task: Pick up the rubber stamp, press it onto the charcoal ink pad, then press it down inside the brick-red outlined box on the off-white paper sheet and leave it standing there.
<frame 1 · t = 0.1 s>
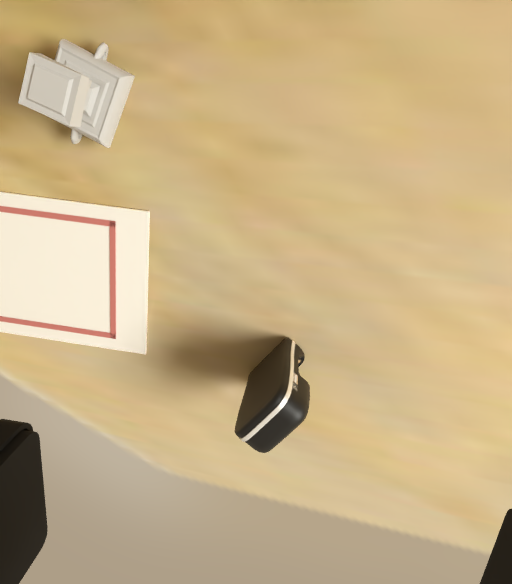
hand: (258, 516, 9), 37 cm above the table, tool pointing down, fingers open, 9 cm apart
stamp: (101, 97, 42), on the table
battery charger: (280, 364, 50), on the table
paper sheet: (48, 272, 49), on the table
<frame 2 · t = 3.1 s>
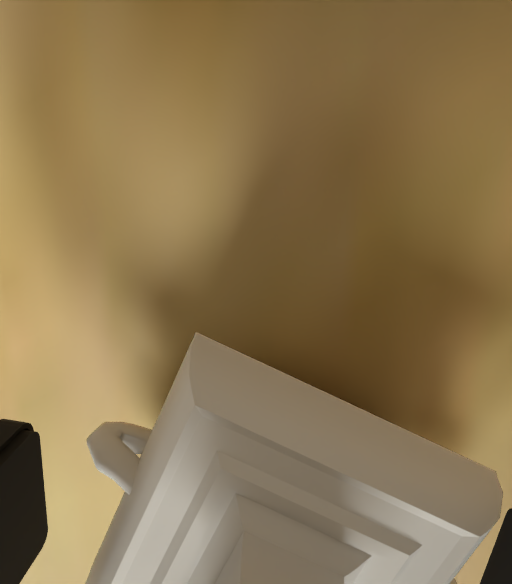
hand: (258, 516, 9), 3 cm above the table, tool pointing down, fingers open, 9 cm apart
stamp: (282, 451, 12), on the table, touching gripper
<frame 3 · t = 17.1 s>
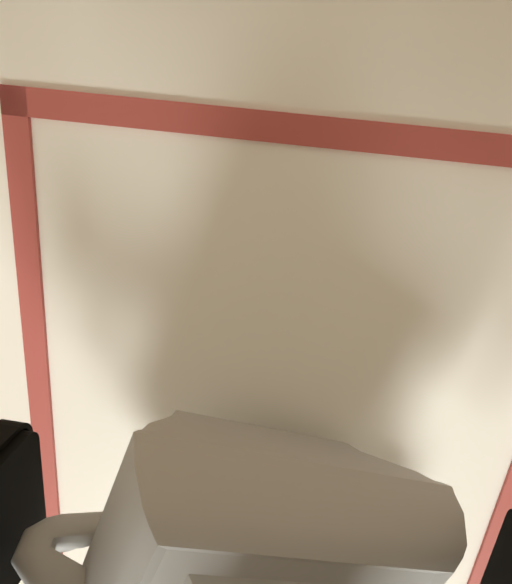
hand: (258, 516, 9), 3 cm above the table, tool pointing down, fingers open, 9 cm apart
stamp: (229, 474, 12), point 1 cm above the table, touching gripper, paper sheet
paper sheet: (272, 420, 12), on the table
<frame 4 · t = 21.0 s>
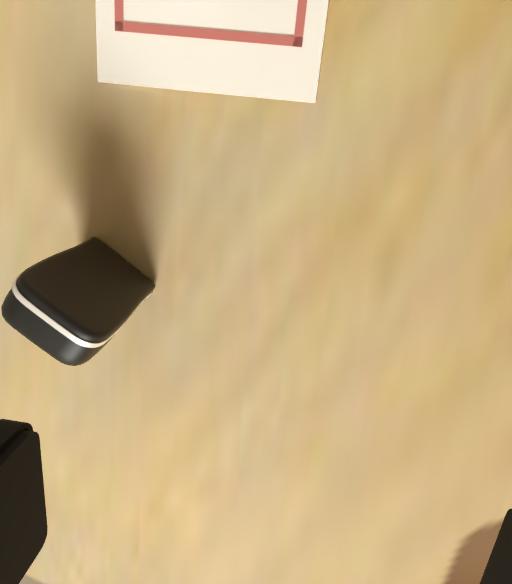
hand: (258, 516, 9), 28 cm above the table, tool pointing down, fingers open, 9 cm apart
battery charger: (116, 274, 39), on the table
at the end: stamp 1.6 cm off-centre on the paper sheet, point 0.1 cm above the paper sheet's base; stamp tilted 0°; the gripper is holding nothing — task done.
